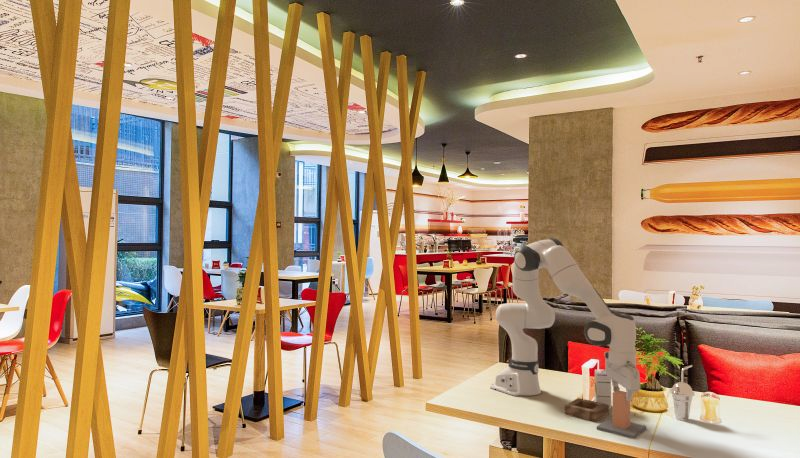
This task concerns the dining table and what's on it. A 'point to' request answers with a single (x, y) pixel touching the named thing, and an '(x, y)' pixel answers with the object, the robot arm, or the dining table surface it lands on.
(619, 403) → the terracotta peg
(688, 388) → the cup with straw
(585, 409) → the socket holder
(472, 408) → the dining table surface
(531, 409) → the dining table surface
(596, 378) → the syrup box
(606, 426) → the slate mat
